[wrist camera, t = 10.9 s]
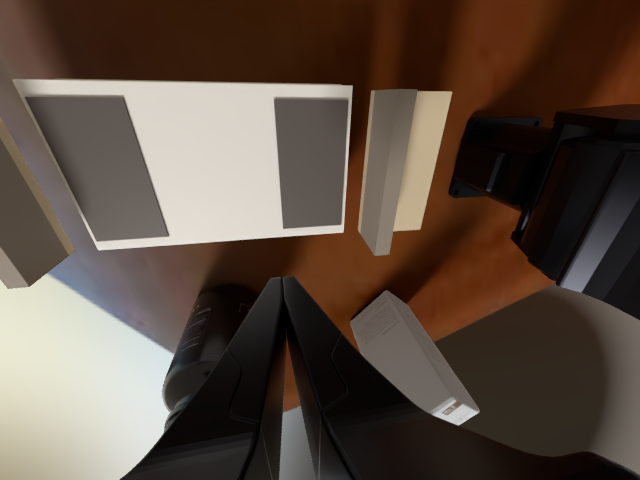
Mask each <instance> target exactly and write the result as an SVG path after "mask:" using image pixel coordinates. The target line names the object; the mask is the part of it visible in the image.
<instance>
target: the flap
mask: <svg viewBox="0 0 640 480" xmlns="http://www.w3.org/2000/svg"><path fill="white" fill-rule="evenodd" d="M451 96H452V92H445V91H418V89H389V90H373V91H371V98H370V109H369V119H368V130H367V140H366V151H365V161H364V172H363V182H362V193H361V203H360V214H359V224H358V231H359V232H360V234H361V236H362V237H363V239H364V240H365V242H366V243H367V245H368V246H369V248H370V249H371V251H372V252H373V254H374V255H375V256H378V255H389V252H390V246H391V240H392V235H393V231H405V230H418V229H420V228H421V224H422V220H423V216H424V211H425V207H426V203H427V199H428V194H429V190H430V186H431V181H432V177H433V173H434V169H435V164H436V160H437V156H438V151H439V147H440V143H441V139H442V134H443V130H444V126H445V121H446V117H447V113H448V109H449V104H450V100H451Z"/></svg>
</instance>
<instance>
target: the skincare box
mask: <svg viewBox="0 0 640 480" xmlns="http://www.w3.org/2000/svg"><path fill="white" fill-rule="evenodd" d="M350 324H351V327H352V330H353V333H354V335H355V338H356V341H357V344H358V347H359V349H360V352H361V355H362V356H363V357H364V358H365V359H366V360H368V361H369V362H370V363H371V364H372V365H373V366H374V367H375V368H376V369H377V370H378V371H379V372H380V373H381V374H382V375H383V376H385V377H386V378H387V379H388V380H389V381H390V382H391V383H392V384H393V385H394V386H395V387H396V388H398V389H399V390H400V391H401V392H402V393H403V394H404V395H405V396H406V397H407V398H408V399H410V400H411V401H412V402H413V403H414V404H416V405H417V406H418V407H420V408H421V409H423V410H424V411H426V412H428V413H430V414H431V415H434V416H436V417H438V418H441V419H443V420H446V421H448V422H451V423H453V424H456V425H460V424H461V423H463V422H464V421H466V420H468V419H469V418H471V417H473V416H474V415H476V414H478V413H479V412H480V410H479V408H478V407H477V406H476V404H475V403H474V401H473V399H472V398H471V396H470V395H469V393H468V392H467V391H466V389H465V388H464V386H463V385H462V383H461V382H460V381H459V379H458V378H457V376H456V375H455V373H454V372H453V370H452V369H451V367H450V366H449V365H448V363H447V362H446V360H445V359H444V357H443V356H442V355H441V353H440V352H439V350H438V349H437V347H436V346H435V344H434V343H433V341H432V340H431V338H430V337H429V335H428V334H427V332H426V331H425V329H424V328H423V327H422V325H421V324H420V322H419V321H418V319H417V318H416V316H415V315H414V314H413V312H412V311H411V309H410V308H409V306H408V305H407V304H405V303H404V302H403V301H401V300H400V299H399V298H397V297H396V296H395V295H393V294H392V293H390V292H389V291H388V290H385V291H384V292H383V293H382V294H381V295H380V296H379V297H377V298H376V299H375V300H374V301H373V302H372V303H371V304H370V305H368V306H367V307H366V308H365V309H364V310H363V311H362V312H361V313H360V314H358V315H357V316H356V317H355V318H354V319H353V320H352V321H351V322H350Z"/></svg>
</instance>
